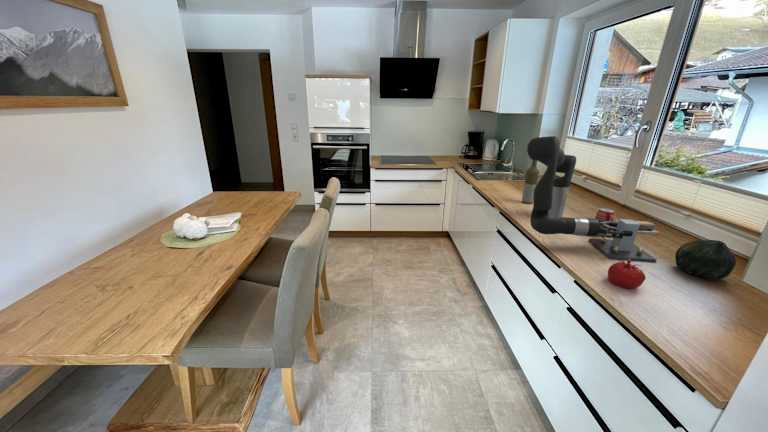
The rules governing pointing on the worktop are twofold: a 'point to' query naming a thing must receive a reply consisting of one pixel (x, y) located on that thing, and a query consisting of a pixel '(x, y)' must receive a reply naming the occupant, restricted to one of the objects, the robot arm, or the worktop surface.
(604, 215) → the soda can
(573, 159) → the robot arm
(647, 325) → the worktop surface
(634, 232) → the block
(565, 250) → the worktop surface
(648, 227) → the packaged product
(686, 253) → the squash
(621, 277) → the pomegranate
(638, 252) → the plate
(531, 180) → the bottle
